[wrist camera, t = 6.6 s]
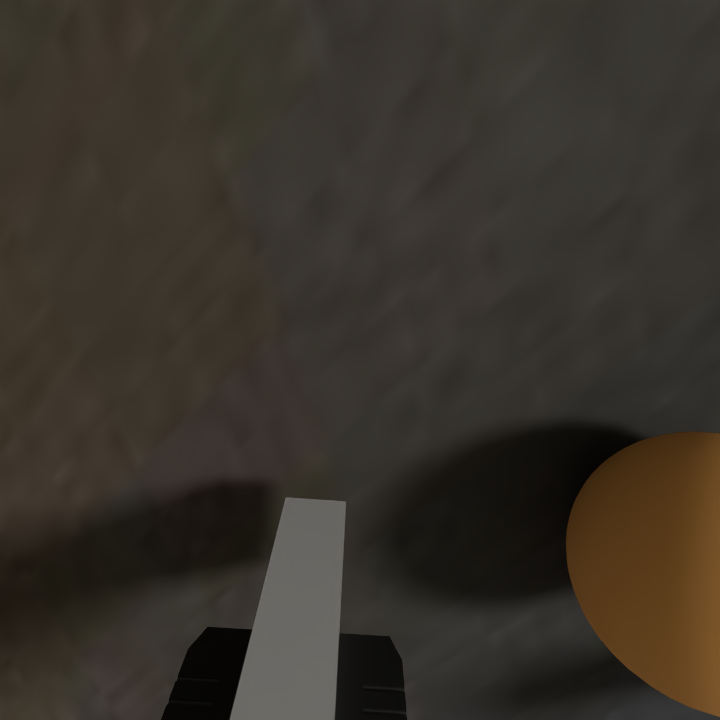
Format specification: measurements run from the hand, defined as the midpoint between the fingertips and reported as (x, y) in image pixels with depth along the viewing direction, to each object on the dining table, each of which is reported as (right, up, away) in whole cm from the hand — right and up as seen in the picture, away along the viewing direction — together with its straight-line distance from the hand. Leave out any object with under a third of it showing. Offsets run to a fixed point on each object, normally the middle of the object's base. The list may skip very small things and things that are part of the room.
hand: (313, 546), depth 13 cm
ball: (+9, 0, -1) cm, 9 cm away
